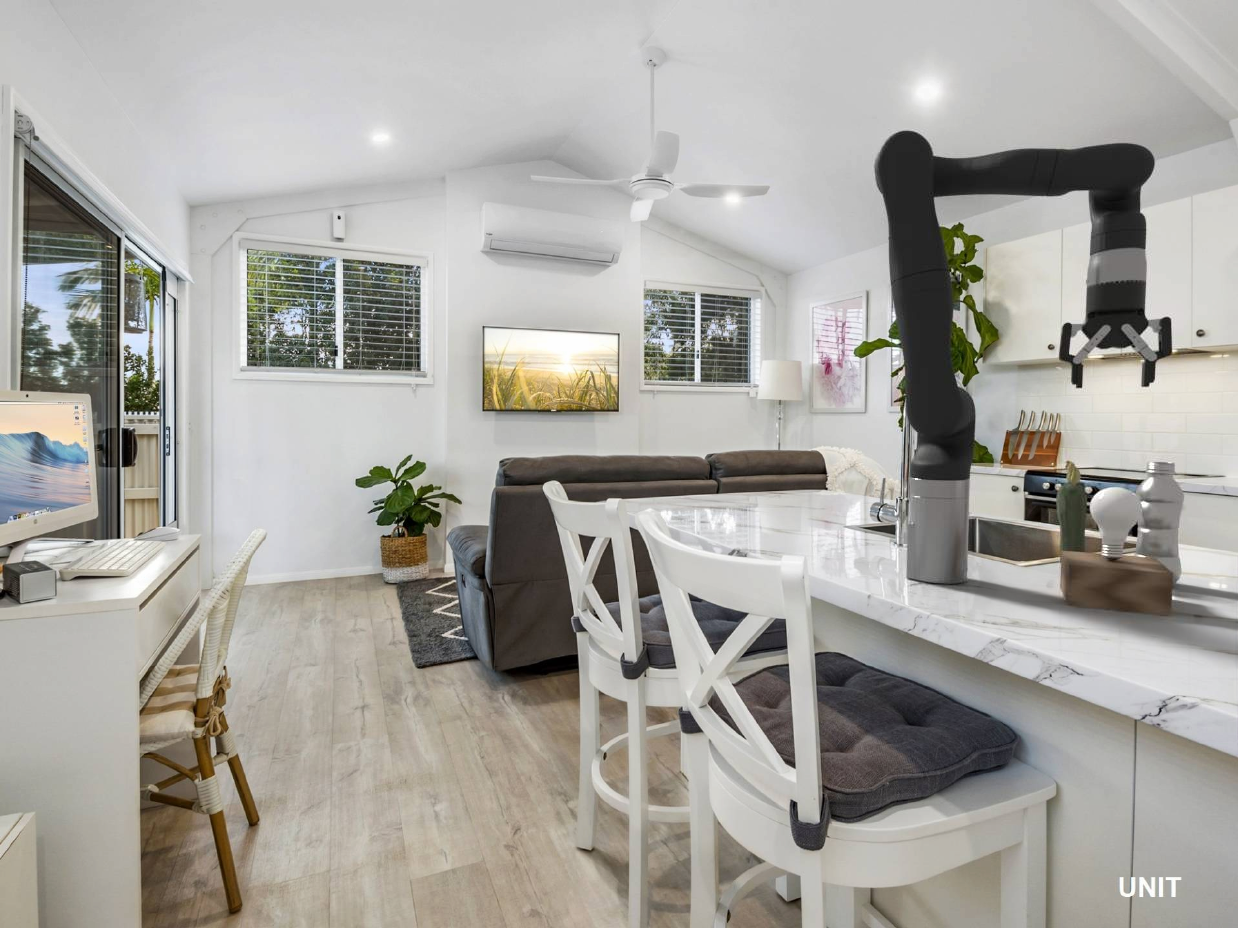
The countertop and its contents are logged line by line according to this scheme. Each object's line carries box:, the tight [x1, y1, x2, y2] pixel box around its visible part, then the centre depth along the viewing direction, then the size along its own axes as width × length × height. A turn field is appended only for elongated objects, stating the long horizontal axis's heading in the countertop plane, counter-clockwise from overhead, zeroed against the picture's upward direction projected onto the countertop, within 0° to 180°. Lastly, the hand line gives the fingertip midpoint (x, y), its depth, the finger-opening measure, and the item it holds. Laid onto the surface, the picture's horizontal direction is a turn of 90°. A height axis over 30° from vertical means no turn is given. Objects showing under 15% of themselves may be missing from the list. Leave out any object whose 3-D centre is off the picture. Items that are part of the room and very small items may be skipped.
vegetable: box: [1055, 460, 1088, 564], centre depth 118 cm, size 4×4×20 cm
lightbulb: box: [1089, 486, 1142, 561], centre depth 102 cm, size 6×6×11 cm
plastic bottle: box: [1133, 461, 1185, 585], centre depth 112 cm, size 6×7×20 cm
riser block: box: [1059, 551, 1174, 617], centre depth 102 cm, size 12×12×6 cm
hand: (1111, 387), depth 107 cm, fingers open, 8 cm apart
